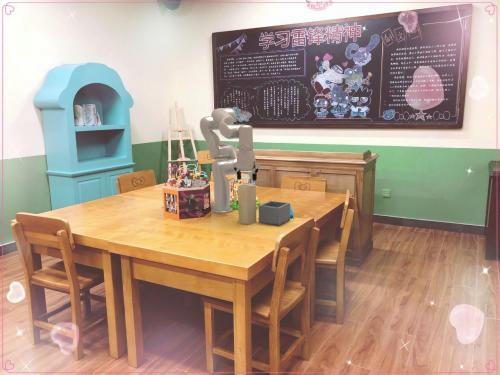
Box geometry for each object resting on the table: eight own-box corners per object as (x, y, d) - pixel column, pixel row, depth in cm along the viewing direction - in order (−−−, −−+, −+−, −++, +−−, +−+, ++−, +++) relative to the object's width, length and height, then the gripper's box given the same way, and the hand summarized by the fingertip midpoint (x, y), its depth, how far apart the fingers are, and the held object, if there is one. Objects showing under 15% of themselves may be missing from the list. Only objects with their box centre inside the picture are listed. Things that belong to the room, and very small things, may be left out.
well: (258, 223, 228) (258, 205, 226) (270, 217, 239) (270, 200, 237) (279, 226, 222) (279, 208, 220) (289, 220, 233) (289, 203, 231)
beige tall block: (246, 219, 236) (246, 183, 232) (256, 221, 231) (256, 184, 227) (237, 222, 230) (236, 185, 226) (247, 225, 225) (246, 187, 221)
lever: (292, 225, 239) (288, 210, 255) (293, 215, 236) (288, 200, 252) (281, 226, 239) (277, 210, 255) (281, 215, 236) (277, 200, 252)
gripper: (228, 148, 224) (229, 180, 227) (256, 149, 215) (257, 182, 218) (236, 147, 230) (237, 178, 233) (263, 148, 221) (264, 180, 224)
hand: (246, 180), depth 225 cm, fingers open, 9 cm apart
